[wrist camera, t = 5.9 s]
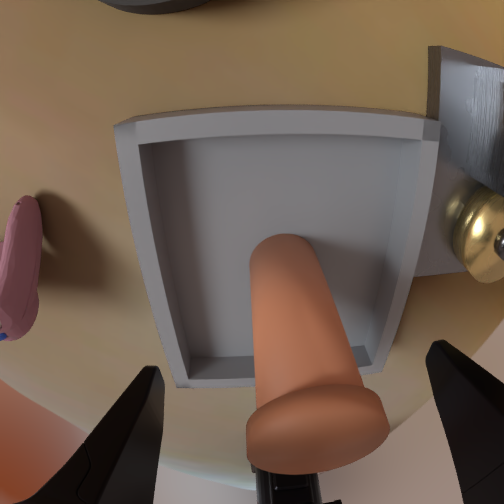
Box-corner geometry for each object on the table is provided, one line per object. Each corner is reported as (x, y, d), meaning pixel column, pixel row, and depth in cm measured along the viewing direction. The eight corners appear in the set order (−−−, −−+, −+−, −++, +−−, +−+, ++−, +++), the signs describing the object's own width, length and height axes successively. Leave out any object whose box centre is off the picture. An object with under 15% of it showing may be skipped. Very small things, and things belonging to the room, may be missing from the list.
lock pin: (319, 293, 15) (369, 463, 8) (244, 298, 15) (249, 478, 8) (325, 225, 14) (409, 400, 6) (240, 229, 13) (242, 422, 6)
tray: (371, 345, 18) (381, 371, 17) (180, 358, 18) (176, 387, 16) (413, 112, 12) (440, 121, 10) (132, 116, 11) (113, 125, 9)
